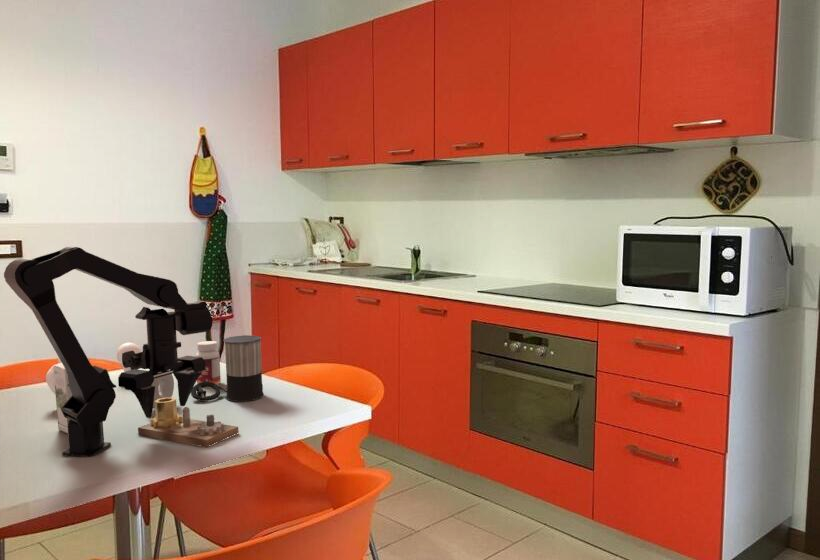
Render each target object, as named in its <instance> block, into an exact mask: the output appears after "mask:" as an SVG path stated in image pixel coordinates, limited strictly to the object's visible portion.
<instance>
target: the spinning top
mask: <svg viewBox="0 0 820 560" xmlns="http://www.w3.org/2000/svg"><path fill="white" fill-rule="evenodd" d="M57 362H58V364H60V363H62V362H61V360H60V359H59V357H58V359H57ZM45 382H46V384H47V386H48V387H49V389H50V391H51V392H52V393H53V394H54V395H55V396H56V394H55V382H54V370H53V365H52V366H51V367H50V368H49V370H48V371H47V373H46V376H45Z"/></svg>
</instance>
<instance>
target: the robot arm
mask: <svg viewBox="0 0 820 560" xmlns="http://www.w3.org/2000/svg"><path fill="white" fill-rule="evenodd" d="M73 270H75V271H78V272H80V273H83V274H86V275H88V276H91V277H93V278H96V279H99V280H101V281H104V282H107V283H109V284H111V285H114V286H116V287H119V288H122V289H124V290H125V291H127V292H129V293H130V294H131V295H133V296H134V297H135V298H137V299H138V300H140V301H142V302H143V303H144V304H147V305H150V306H156V307H159V308H157V309H151V308H150V307H149V306H148V307H147V306H143V307H142V308H141V309H140V311H139V312H137V314H135V319H137V320H143V321H145V320H146V321H145V322H146V337H147V342H146V343H144V344H143V345H142V351H141V352H140V353H136V354H135V352H134V351H128V352H125V353H122V363H123V366H124V367H125V368H128V367H130V368H131V370H130V371H126V372H124V371H122V372H121V373H120V374H119V375H118V377H117V381H118V383H117V384H118V387H120V388H124V390H127V391H130V392H132V393H133V394H134V396H135V397H136V400H138V402H139V404H140V407H141V409H142V411H143V413H144V415H145V418H147V419H152V417H153V410H154V408H153V402H154V393H155V386H151V385H152V383H153V382H154V379H155V378H159V377H162V376H166V375H169V374H172V375H173V377H175V378H174V379H176V382H177V389H178V393H177V394H178V401H179V406H180V407H186V404H187V402H188V400H189V399H190V396H191V391H192V389H193V387H194V386H195V385H196V384H197V379H198V377H199V376H200V375H201V374H202V372H200V371H203V370H206V368H205V361H204V359H203V358H202V357H196V355H195V356H192V355H185V356H181V357H178V348H182V342H181V341H178V340H177V332H179V334H180V335H182V336H188V335H189V336H190V335H193V334H194V335H195V334H199V333H208V332H210V331H211V330H212V327H213V321H214V320H213V316H212V314H211V311H210V310H209V308H208V307H207V302H206V301H205V300H204V301H202V300H199V301H195V302H190V303H189V302H188V303H187V302H186V300H185V299H184V298H183V297H182V295H181V294H180V293H179V289H178V285H177V283H176V282H174V281H173V280H171V279H167V278H163V277H159V276H153V275H147V274H143V273H139V272H136V271H133V270H131V269H130V268H129V269H128V268H126V267H125V266H123V265H120V264H117V263H114V262H112V261H110V260H107V259H105V258H102V257H100V256H97V255H95V254H93V253H90V252H88V251H86V250H84V249H83V248H81V247H78V246H66V247H64V248H62V249H60V250H56V251H54V252H51V253H50V252H49V253H47V254H44V255H40V256H37V257H35V258H32V259H29V258H28V259H27V258H17V259H14V260H12V261H11V262H9V263H8V265H7V266H6V267H5V271H4V272H3V278H4V279H5V280H4V281H5V282H6V284H7V285H8V286H9V288H10V289H11V290H12V291H13V292H14V293H15V294H16V296H17V297H18V298H19V299H21V301H23V303H24V304H26V305H27V307H29V309H30V310H31V311H32V313H33V314H34V316H35V318H36V320H37V322H38V323H39V325H40V326H41V328H42V330H43V332H44V335H45V336H46V337H47V339H48V341H49V343H50V344H51V346H52V348H53V350H54V352H55V354H56V355H57V357H58V358H59V359H60V360H61V362H62V364H63V366H64V367H65V369H66V371H67V374H68V382H69V387H70V390H71V393H72V396H71V397H70V398H69V399H68V401H67V402H66V403H65V404H64V405H63V406H62V408H61V411H62V413H63V415H64V417H65V418H68V419H70V420H69V423H68V434H67V436H68V437H67V439H68V448H67V449H66V450H64V451H62V452H61V455H62V456H77V457H78V456H80V457H81V456H83V457H85V456H86V457H93V456H95V455H96V454H99V453H101V452H102V451H103V450H105V449H107V448H109V447H110V446H112V442H110V441H107V442H106V441H105V439H104V438H105V437H104V436H105V435H104V425H103V424H104V422H105V421H106V420H107V418H108V413H109V410H110V408H111V407H112V406H113V404H114V402H115V399H116V397H117V396H116V395H117V394H116V391H115V388H117V385H116V384H114V383H113V381H112V379H111V377H110V375H109V371H108V370H107V368H103V367H101V366H98V365H92V363H91V362H90V359H89V358H88V356H87V355H86V353H85V351H84V349H83V347H82V346H81V344H80V342H79V340H78V338H77V336H76V334H75V333H74V330H73V329H72V328H71V325H70V323H69V322H68V320H67V319H66V317H65V314H64V313H63V311H62V309H61V307H60V305H59V304H58V302H57V299H56V298H57V297H56V289H55V284H54V281H53V280H56V279H58V278H60V277H62V276H64V275H66V274H68V273H69V272H72V271H73ZM160 307H161V308H160ZM166 309H170V310H174V311H169V312H168V311H167V310H166ZM167 370H168V371H167ZM158 372H161V373H158ZM104 441H105V442H104Z"/></svg>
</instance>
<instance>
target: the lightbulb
mask: <svg viewBox="0 0 820 560" xmlns="http://www.w3.org/2000/svg"><path fill="white" fill-rule="evenodd" d="M128 351H134V352H135V354H136V353H140V352H142V350H141V347H140V346H139V345H138V344H137V343H135V342H131V341H130V342H124V343H123V344H121V345H119V346H118V348H117V350H116V353H115V354H116V360H117V361H118V363H119V364H120V365H121V366H122V370H123V372H126V371H130V370H131V368H130V367H128V368H125V367H124V366H123V363H122V353H125V352H128Z"/></svg>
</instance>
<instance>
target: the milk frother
mask: <svg viewBox="0 0 820 560" xmlns="http://www.w3.org/2000/svg"><path fill="white" fill-rule="evenodd" d="M261 340H262V337H261V336H257V335H250V334H249V335H248V334H247V335H244V334H243V335H235V336H229V337H225V338H224V339H223V342H224V349H225V350H224V352H225V371H226V373H225V374H226V389H224V388H223V387H221V386H220V385H219V384H218V385H217V384H215V383H212V382H201V383H198V384H197V383H195V385H194V387H193V389H192V391H191V393H190V396H191V397H192V398H193V399H194V400H197V401H214V400H216V399H219V397H220V396H221V393H222V391H223V392H225V393H226V395H225V399H226V400H228V401H232V402H251V401H256V400H259V399H262V398H263V397H264V395H265V393H264V391H263V389H264V386H263V373H262V371H263V370H262V368H263V367H262V343H261V342H262V341H261ZM204 388H210V389H213V390H214V391H215V392H214V393H213V394H211V395H207V391H206V390H204Z"/></svg>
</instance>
